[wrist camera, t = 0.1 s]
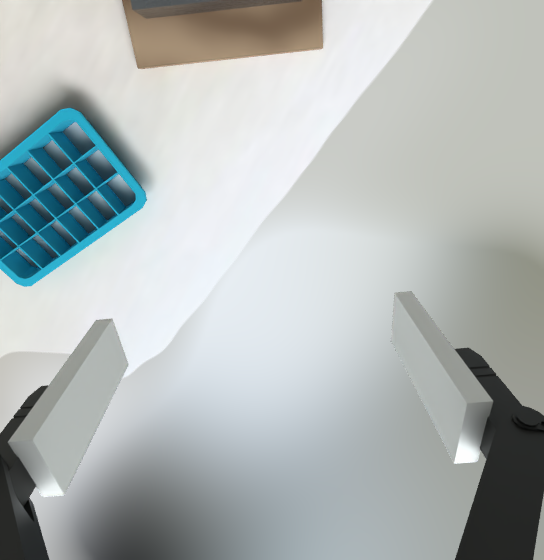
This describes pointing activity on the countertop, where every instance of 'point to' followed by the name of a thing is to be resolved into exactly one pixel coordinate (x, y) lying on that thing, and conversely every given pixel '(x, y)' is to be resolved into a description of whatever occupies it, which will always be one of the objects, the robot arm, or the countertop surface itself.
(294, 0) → the square socket
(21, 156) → the ice cube tray
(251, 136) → the countertop surface
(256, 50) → the brown base board
